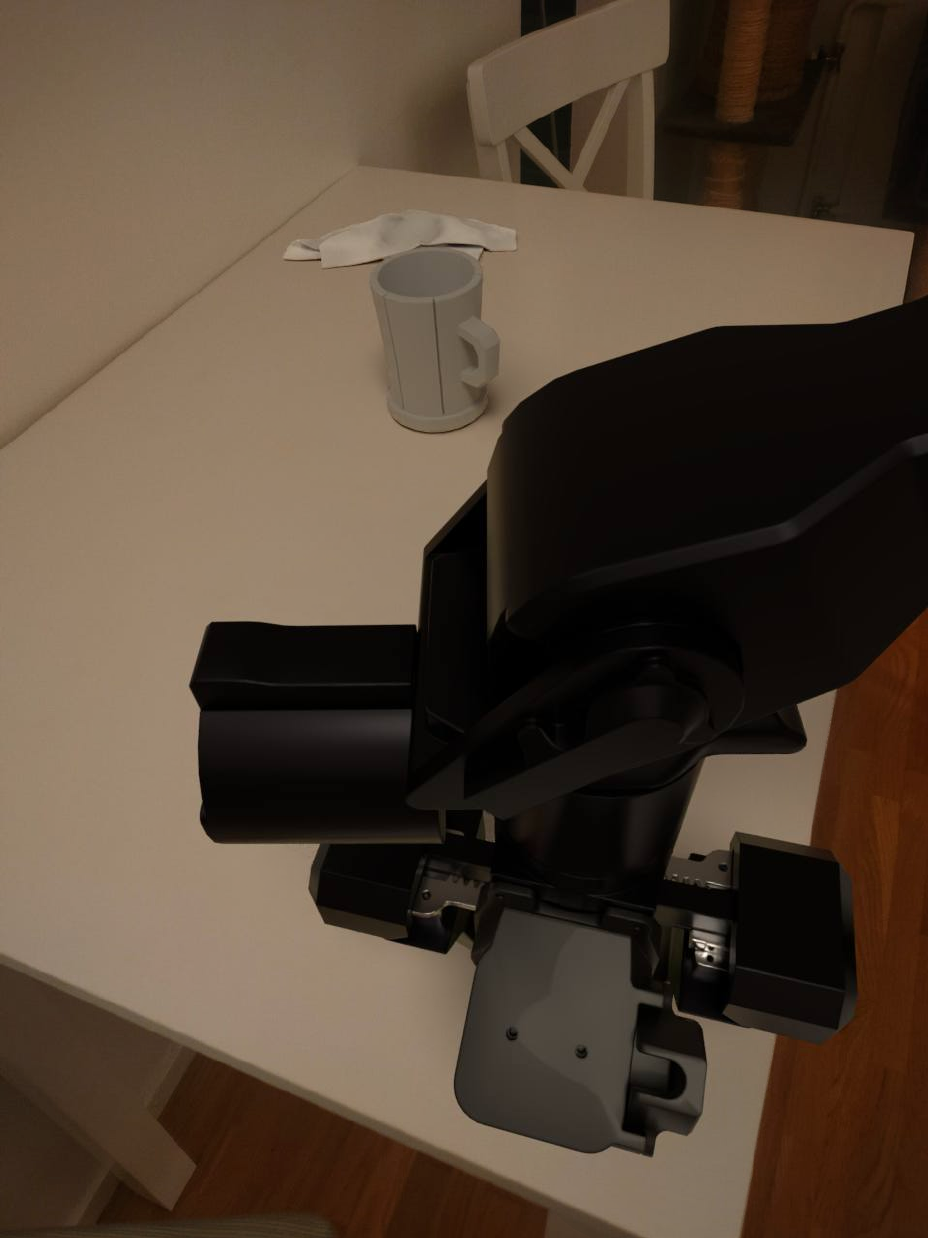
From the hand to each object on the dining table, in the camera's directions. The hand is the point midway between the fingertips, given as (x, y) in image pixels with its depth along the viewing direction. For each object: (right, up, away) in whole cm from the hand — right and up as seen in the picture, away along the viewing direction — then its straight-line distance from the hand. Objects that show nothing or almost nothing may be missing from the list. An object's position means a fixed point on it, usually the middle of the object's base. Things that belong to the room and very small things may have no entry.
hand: (562, 963), depth 36 cm
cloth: (-11, +58, +57) cm, 82 cm away
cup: (-6, +34, +36) cm, 50 cm away
